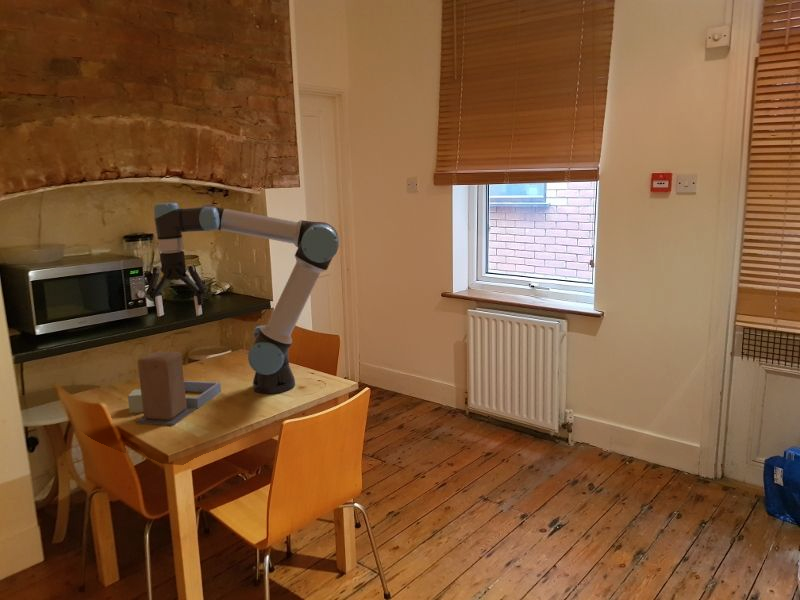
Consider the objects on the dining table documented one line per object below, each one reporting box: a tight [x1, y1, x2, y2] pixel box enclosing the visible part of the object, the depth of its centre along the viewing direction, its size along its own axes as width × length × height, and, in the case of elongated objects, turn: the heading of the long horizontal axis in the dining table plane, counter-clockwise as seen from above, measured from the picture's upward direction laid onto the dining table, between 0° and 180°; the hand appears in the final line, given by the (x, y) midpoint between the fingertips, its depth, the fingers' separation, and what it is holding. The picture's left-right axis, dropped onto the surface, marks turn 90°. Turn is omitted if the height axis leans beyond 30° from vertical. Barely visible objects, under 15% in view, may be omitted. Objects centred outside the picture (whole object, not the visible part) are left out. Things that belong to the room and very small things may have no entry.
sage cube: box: [127, 388, 143, 414], centre depth 206 cm, size 6×6×6 cm
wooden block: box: [137, 350, 187, 420], centre depth 197 cm, size 10×10×20 cm
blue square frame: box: [184, 380, 222, 409], centre depth 215 cm, size 16×16×4 cm
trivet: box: [135, 407, 196, 427], centre depth 200 cm, size 13×13×1 cm
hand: (180, 315), depth 203 cm, fingers open, 13 cm apart
